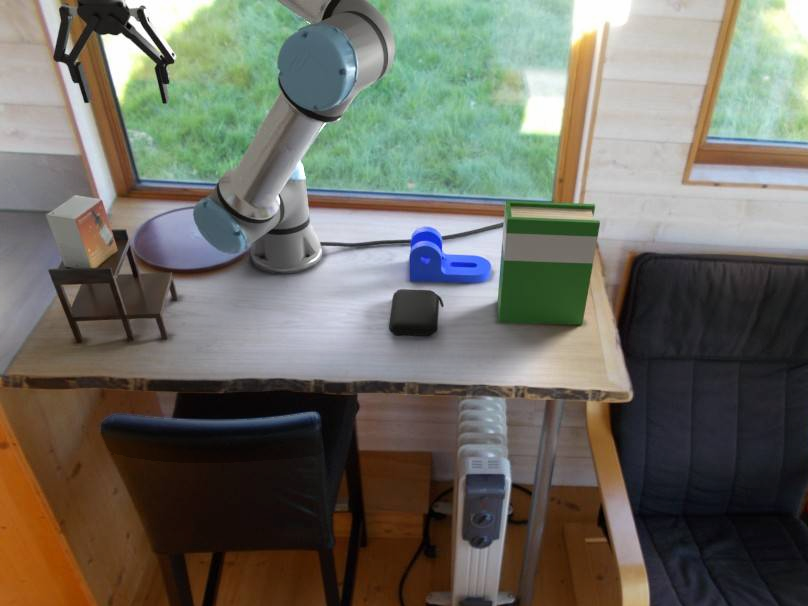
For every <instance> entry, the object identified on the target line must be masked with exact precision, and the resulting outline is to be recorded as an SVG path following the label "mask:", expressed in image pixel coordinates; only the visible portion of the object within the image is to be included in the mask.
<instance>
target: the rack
mask: <svg viewBox="0 0 808 606" xmlns="http://www.w3.org/2000/svg"><path fill="white" fill-rule="evenodd" d="M111 230H112V233H113V237H114V240H115V243H116V246H117V252H115V253H114V254H112V255H111V256H110V257H109V258H107V259H106V260H105V261H104V262H102V263H101V264H100V265H99V266H98V267H97V268H71V267H65V266H64V263H63V260H62V259H61V262H60V264H59V266H58V268H49V269H48V271H47V272H48V274H49V277H50V279H51V281H52V284H53V287H54V289H55V291H56V294H57V297H58V300H59V302H60V305H61V307H62V309H63V313H64V315H65V317H66V319H67V323H68V324H69V327H70V330H71V332H72V335H73V338H74V340H75V343H76V344H83V343H84V336H83V335H82V333H81V329H80V327H79V324H78V322H94V321H95V322H96V321H97V322H98V321H118V320H119V321H120V320H121V323H122V326H123V329H124V332H125V335H126V338H127V341H129V342H132V341H135V338H136V337H135V334H134V330H133V327H132V325H131V322H130V320H142V319H144V320H145V319H155V320H156V324H157V327H158V330H159V335H160V337H161V340H168V339H169V334H168V329H167V326H166V323H165V319H164V316H163V314H164V310H165V307H166V303H167V299H168V296H169V293H170V295H171V296H170V297H171V300H172V301H178V300H179V294H178V291H177V287H176V283H175V280H174V279H175V278H174V276H173V272H152V273H140V270H139V267H138V263H137V260H136V256H135V254H134V250H133V246H132V244H131V240H130V236H129V233H128V230H127V229H126V228H118V229H117V228H115V229H114V228H113V229H112V228H111ZM126 256H127V260H128V264H129V266H130V270H131V273H124V274H123V273H120V271H121V268H122V266H123V264H124V260H125V259H126ZM119 273H120V274H119ZM70 285H73V286H74V285H80V286H79V289H78V291H77V293H76V295H75V298H74V300H73V302H72V304H70V303H71V302H70V301H69V298H68V295H67V293H66V290H65V288H64V286H70Z"/></svg>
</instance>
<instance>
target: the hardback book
mask: <svg viewBox="0 0 808 606" xmlns="http://www.w3.org/2000/svg"><path fill="white" fill-rule="evenodd" d="M595 210H596V204H595V203H579V202H578V203H577V202H554V201H551V202H550V201H531V200H530V201H528V200H506V199H505V200H504V213H503V222H504V225H503V226H502V238H501V239H502V240H501V251H500V265H499V278H498V289H497V290H498V293H497V312H498V322H499V323H510V324H546V325H549V324H551V325H583V323H584V318H585V312H586V307H587V301H588V294H589V289H590V284H591V278H592V273H593V272H592V271H593V266H594V261H595V255H596V250H597V242H598V238H599V231H600V226H601V220H599V219H598V220H597V219H595Z"/></svg>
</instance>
